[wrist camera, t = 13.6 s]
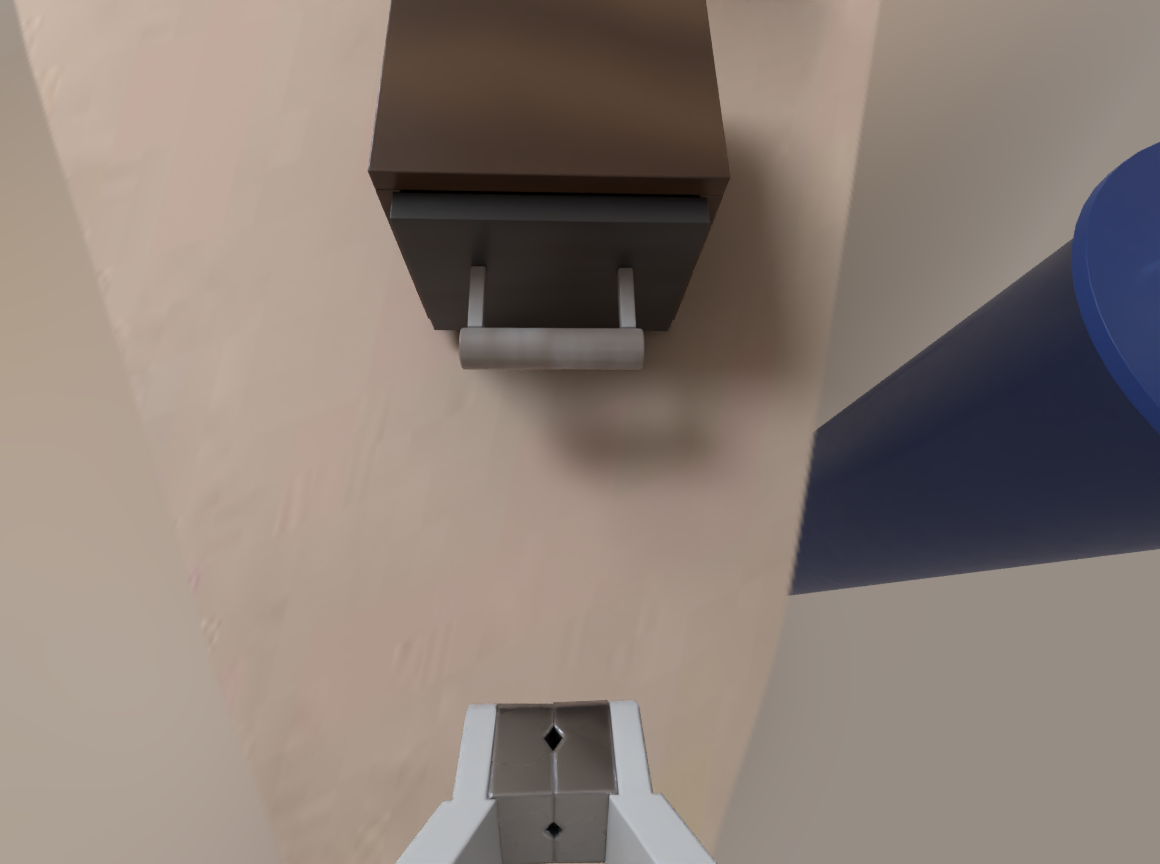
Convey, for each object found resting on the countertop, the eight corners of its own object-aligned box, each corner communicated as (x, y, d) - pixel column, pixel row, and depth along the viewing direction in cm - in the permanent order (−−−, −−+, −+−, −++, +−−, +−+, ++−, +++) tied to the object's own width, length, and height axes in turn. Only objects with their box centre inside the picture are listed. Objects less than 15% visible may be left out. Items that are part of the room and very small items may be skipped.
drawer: (675, 413, 26) (723, 329, 19) (428, 413, 26) (376, 327, 18) (651, 125, 32) (680, -26, 25) (450, 120, 32) (418, -36, 24)
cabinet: (674, 320, 29) (730, 178, 20) (428, 318, 28) (367, 170, 19) (656, 108, 34) (694, -85, 25) (445, 103, 33) (403, -98, 24)
